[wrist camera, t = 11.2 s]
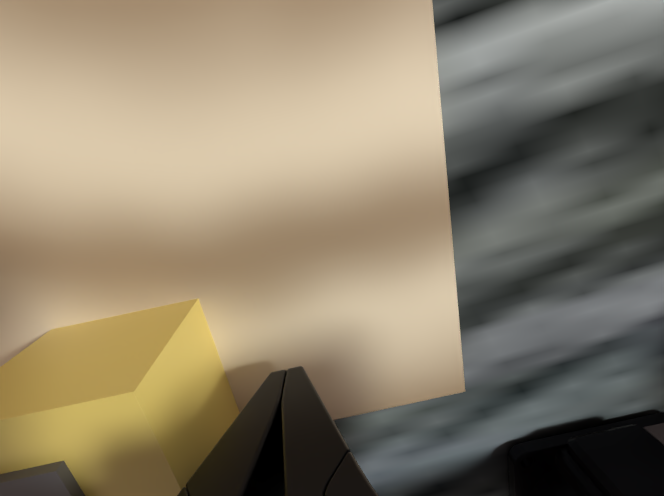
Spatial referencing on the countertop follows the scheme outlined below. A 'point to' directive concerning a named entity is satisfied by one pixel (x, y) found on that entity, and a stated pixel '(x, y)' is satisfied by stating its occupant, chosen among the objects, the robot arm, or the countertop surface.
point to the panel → (235, 185)
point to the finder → (114, 406)
